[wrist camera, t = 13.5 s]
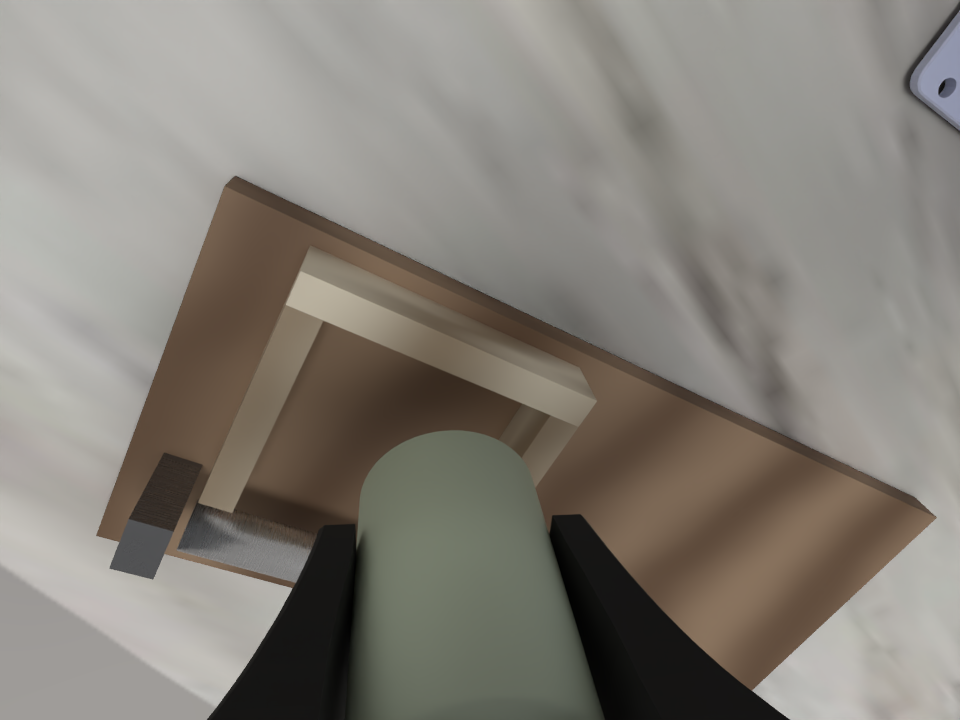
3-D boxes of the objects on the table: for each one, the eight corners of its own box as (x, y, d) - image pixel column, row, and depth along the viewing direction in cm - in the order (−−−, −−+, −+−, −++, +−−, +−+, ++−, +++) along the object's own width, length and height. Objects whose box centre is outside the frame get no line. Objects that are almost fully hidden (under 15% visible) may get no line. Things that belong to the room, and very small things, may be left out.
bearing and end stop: (564, 553, 24) (588, 626, 21) (507, 626, 25) (521, 703, 23) (175, 423, 19) (136, 494, 16) (135, 523, 21) (94, 604, 18)
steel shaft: (607, 592, 25) (629, 650, 22) (572, 633, 26) (590, 693, 23) (212, 466, 20) (188, 524, 17) (186, 523, 21) (161, 586, 18)
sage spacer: (516, 410, 13) (595, 666, 8) (547, 540, 15) (628, 813, 10) (334, 457, 13) (297, 743, 8) (389, 581, 15) (387, 874, 10)
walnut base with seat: (915, 497, 26) (976, 554, 24) (723, 683, 31) (756, 747, 28) (235, 176, 17) (203, 206, 14) (110, 510, 22) (68, 582, 19)
